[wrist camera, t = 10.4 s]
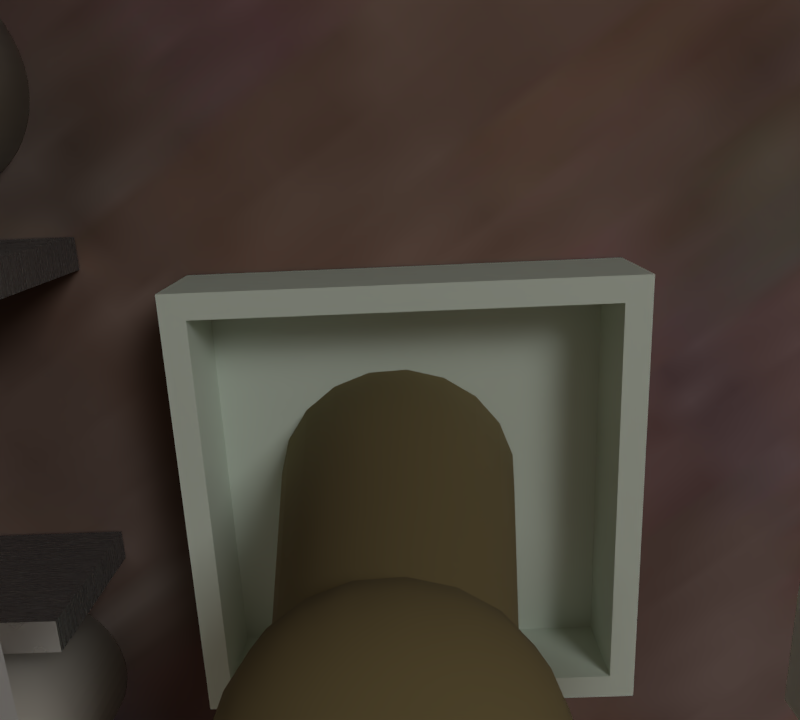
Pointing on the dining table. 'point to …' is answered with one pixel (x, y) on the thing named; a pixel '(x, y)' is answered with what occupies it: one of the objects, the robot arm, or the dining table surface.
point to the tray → (460, 364)
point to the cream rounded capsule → (70, 678)
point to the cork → (395, 567)
